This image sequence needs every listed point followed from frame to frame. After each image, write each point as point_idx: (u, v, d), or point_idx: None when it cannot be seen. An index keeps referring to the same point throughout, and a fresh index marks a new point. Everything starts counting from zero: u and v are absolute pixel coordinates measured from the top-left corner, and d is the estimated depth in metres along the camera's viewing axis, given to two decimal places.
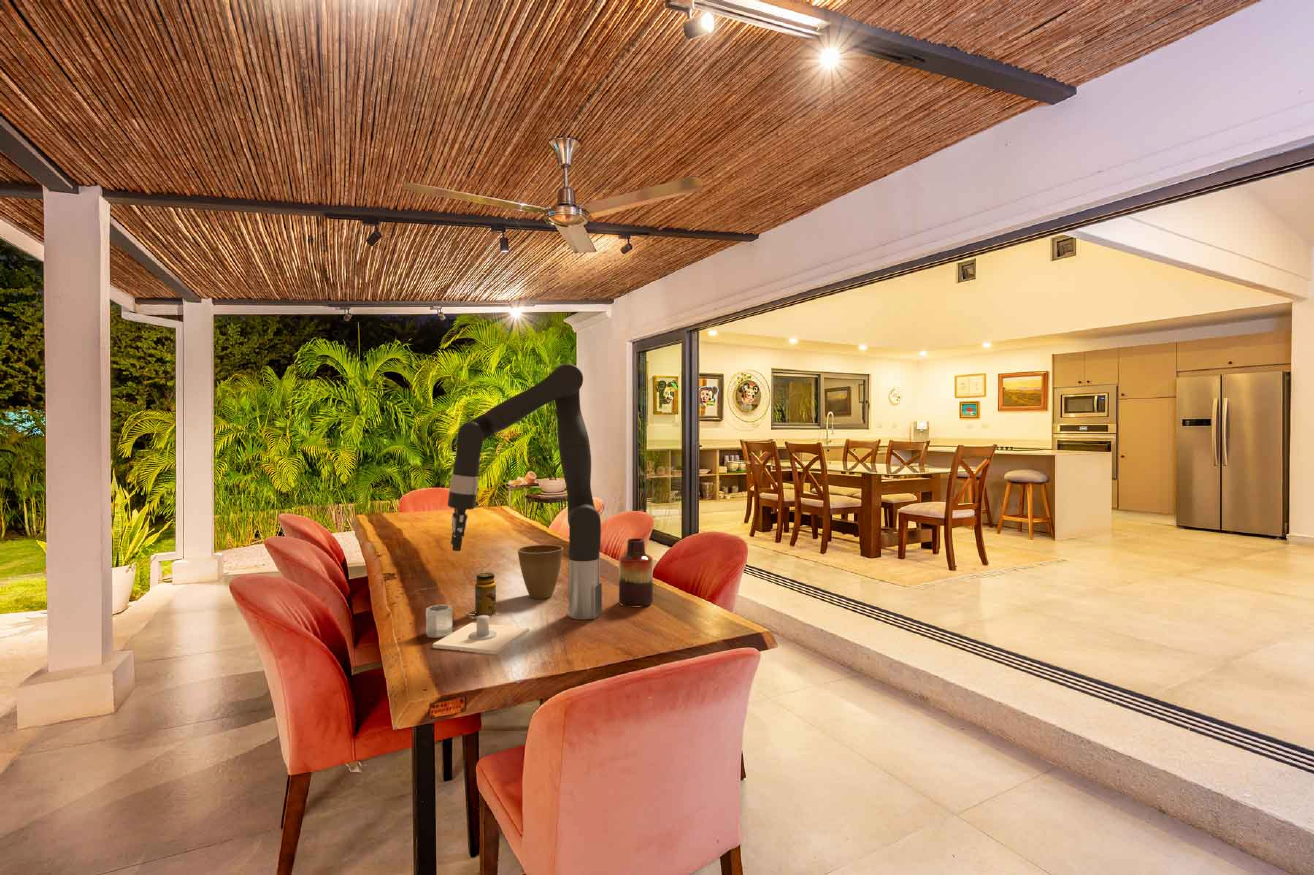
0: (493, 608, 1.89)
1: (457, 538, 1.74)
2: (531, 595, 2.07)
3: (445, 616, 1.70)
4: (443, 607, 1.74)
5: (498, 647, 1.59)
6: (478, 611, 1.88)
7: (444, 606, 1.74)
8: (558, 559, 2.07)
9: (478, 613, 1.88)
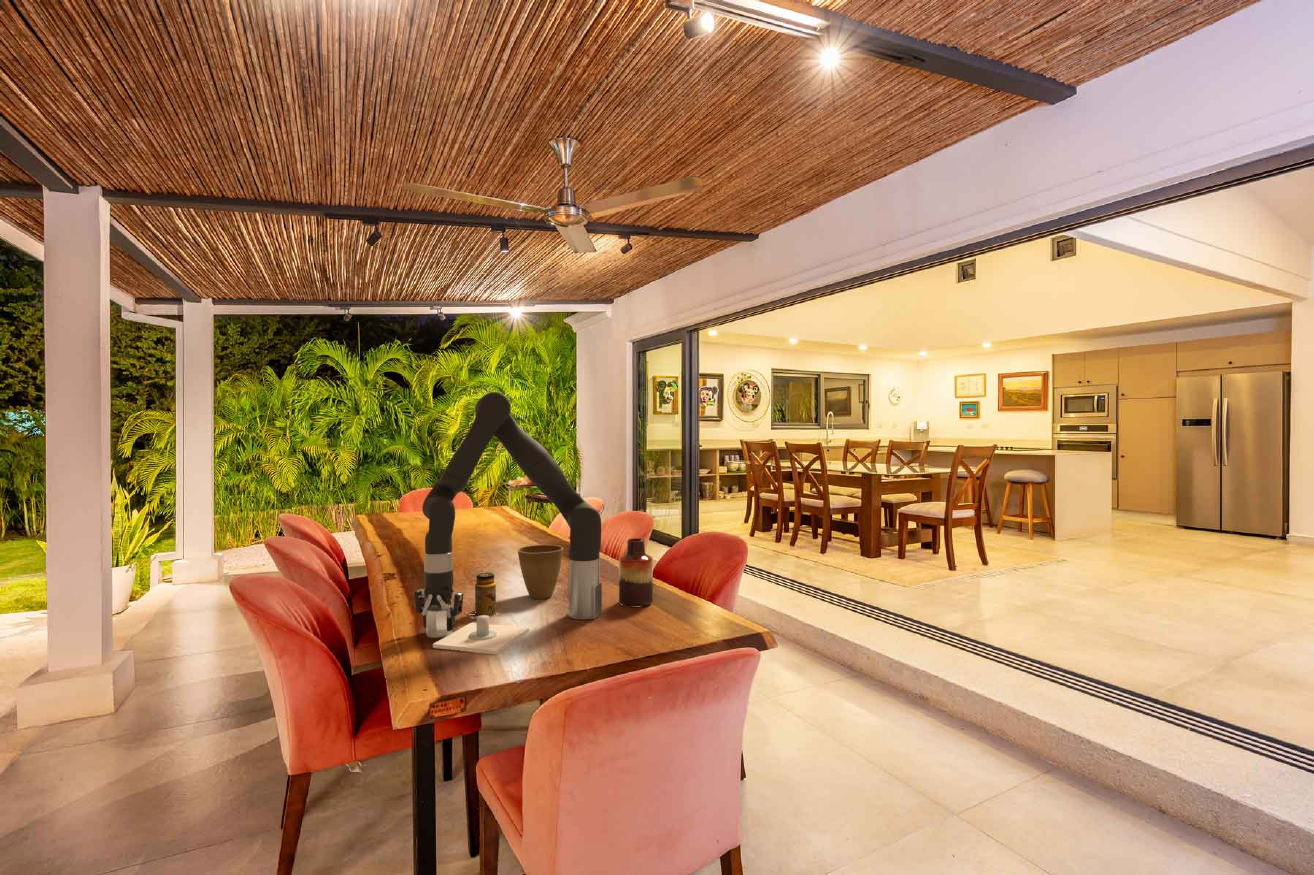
0: (493, 608, 1.89)
1: (453, 617, 1.71)
2: (531, 595, 2.07)
3: (445, 616, 1.70)
4: None
5: (498, 647, 1.59)
6: (478, 611, 1.88)
7: None
8: (558, 559, 2.07)
9: (478, 613, 1.88)
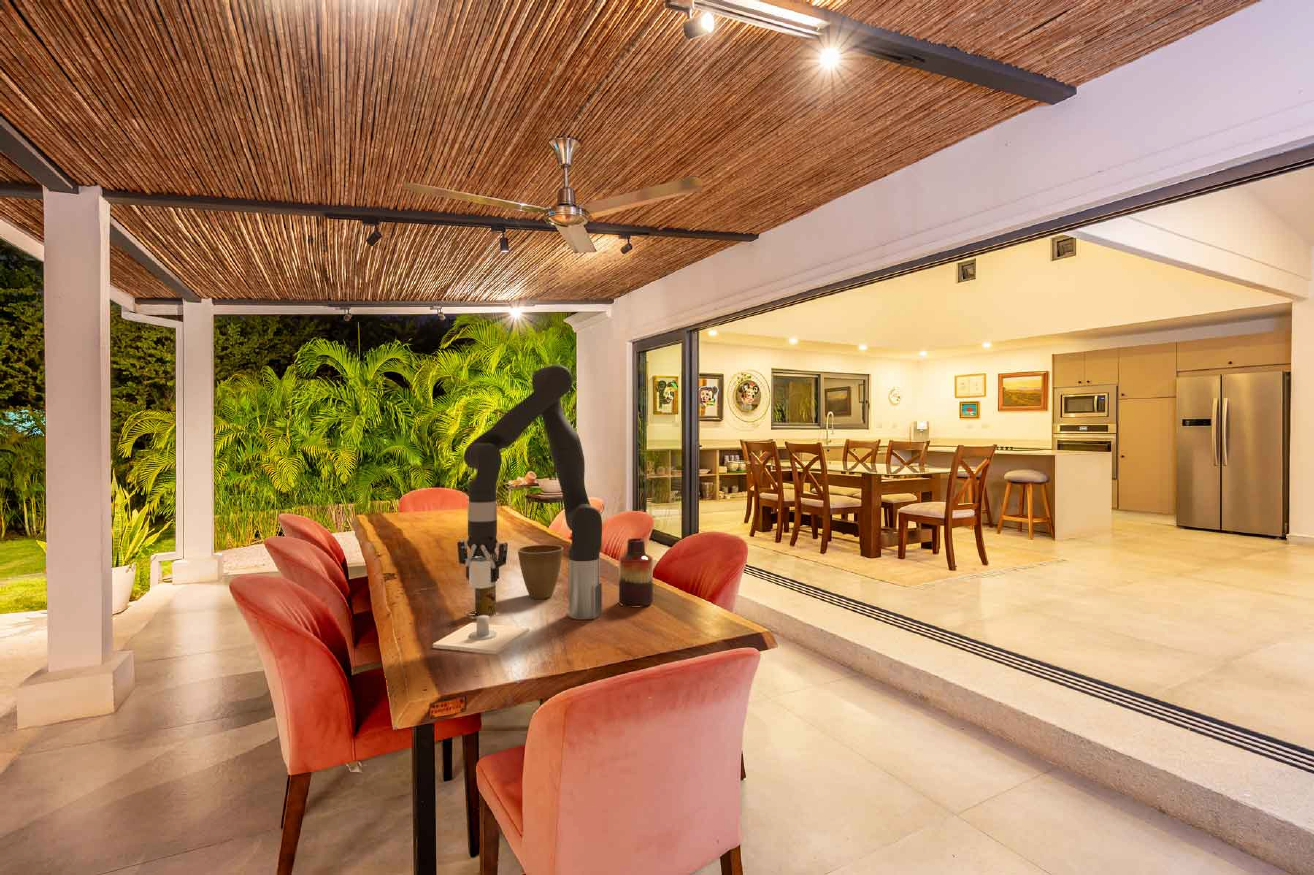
0: (493, 608, 1.89)
1: (497, 568, 1.66)
2: (531, 595, 2.07)
3: (489, 566, 1.65)
4: (486, 559, 1.70)
5: (498, 647, 1.59)
6: (478, 611, 1.88)
7: None
8: (558, 559, 2.07)
9: (478, 613, 1.88)
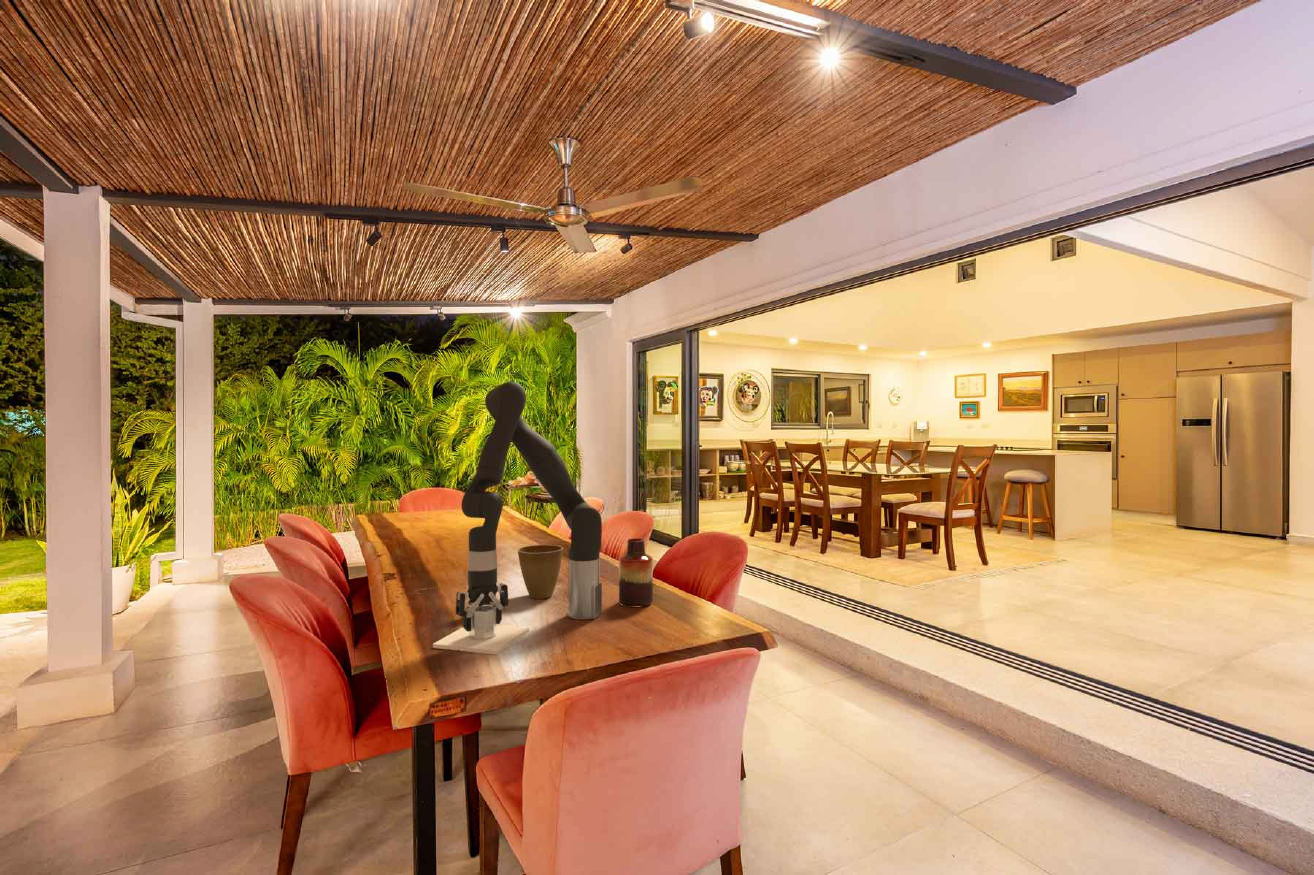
0: None
1: None
2: (531, 595, 2.07)
3: (495, 613, 1.68)
4: (477, 608, 1.69)
5: (498, 647, 1.59)
6: None
7: (478, 607, 1.69)
8: (558, 559, 2.07)
9: None
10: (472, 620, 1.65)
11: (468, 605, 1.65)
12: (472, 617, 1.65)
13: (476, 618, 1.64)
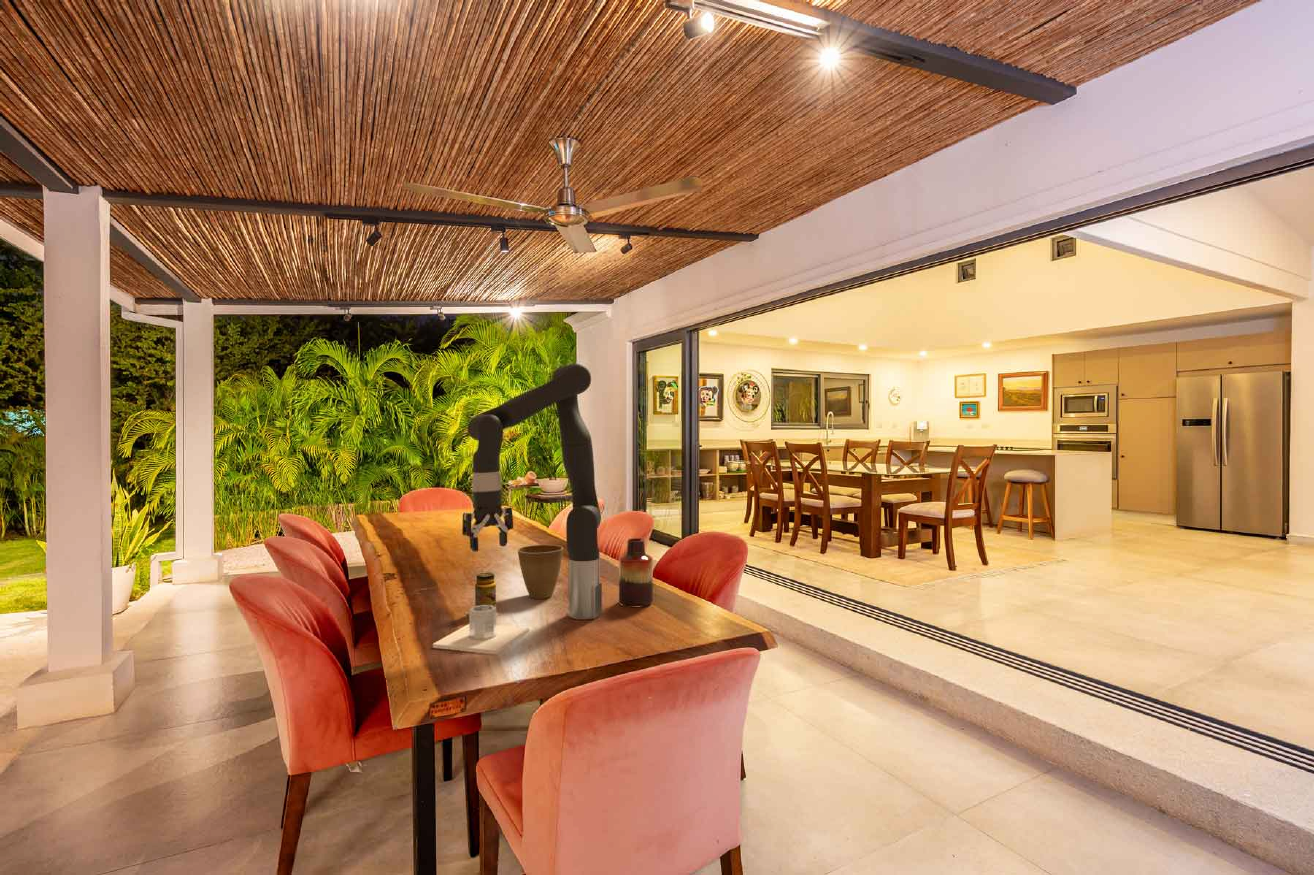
0: None
1: None
2: (531, 595, 2.07)
3: (495, 613, 1.68)
4: (477, 608, 1.69)
5: (498, 647, 1.59)
6: None
7: (478, 607, 1.69)
8: (558, 559, 2.07)
9: None
10: (472, 620, 1.65)
11: (474, 526, 1.68)
12: (472, 617, 1.65)
13: (476, 618, 1.64)
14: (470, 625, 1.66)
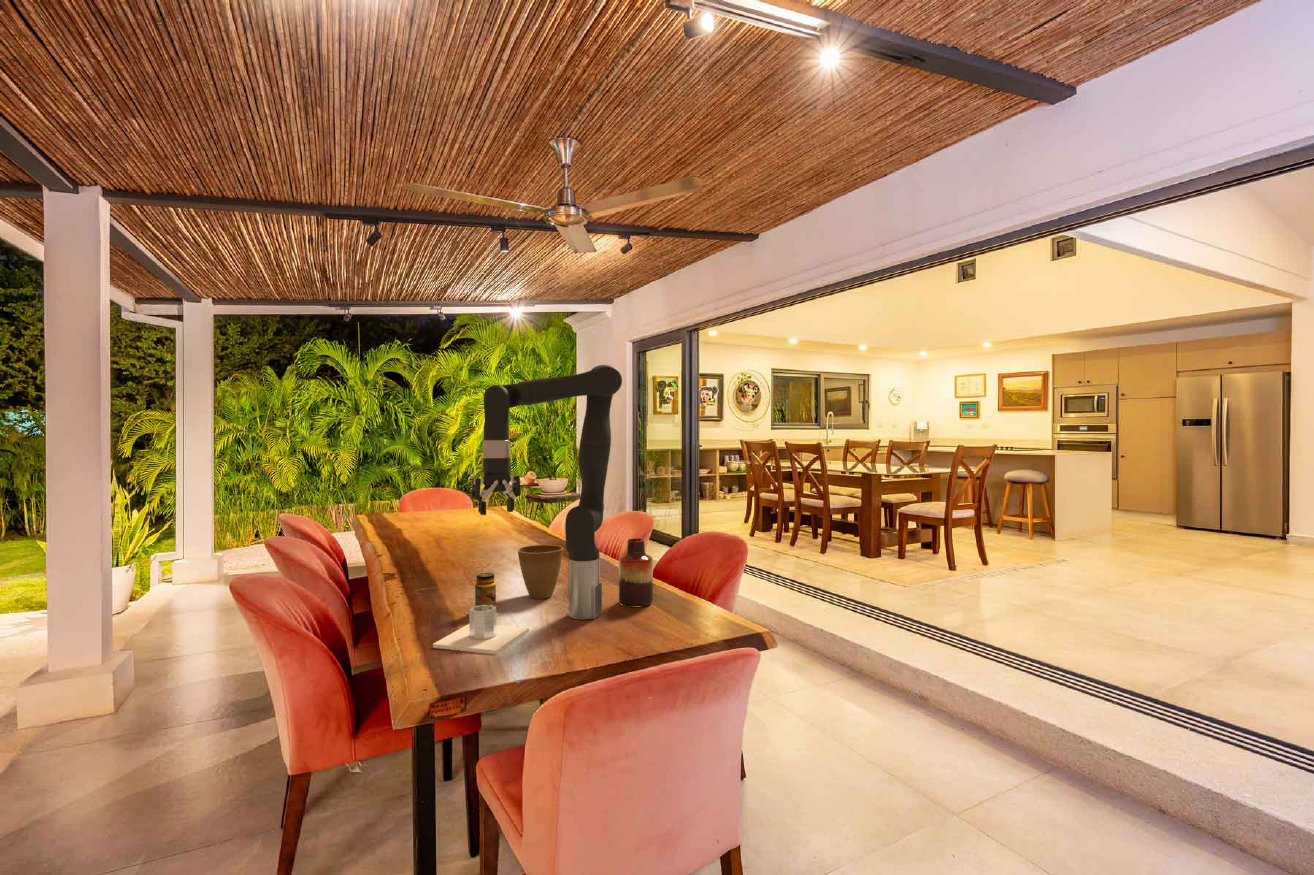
0: None
1: None
2: (531, 595, 2.07)
3: (495, 613, 1.68)
4: (477, 608, 1.69)
5: (498, 647, 1.59)
6: None
7: (478, 607, 1.69)
8: (558, 559, 2.07)
9: None
10: (472, 620, 1.65)
11: (483, 491, 1.75)
12: (472, 617, 1.65)
13: (476, 618, 1.64)
14: (470, 625, 1.66)
